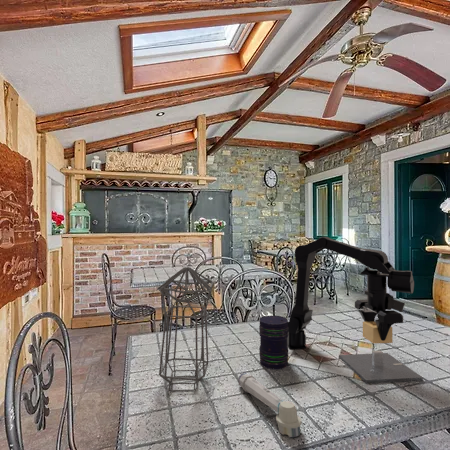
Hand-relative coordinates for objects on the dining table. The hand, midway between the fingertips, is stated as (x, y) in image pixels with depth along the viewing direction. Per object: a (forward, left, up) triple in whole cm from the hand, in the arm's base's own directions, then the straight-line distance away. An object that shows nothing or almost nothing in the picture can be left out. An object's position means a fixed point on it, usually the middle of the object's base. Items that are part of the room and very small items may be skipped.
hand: (377, 336), depth 102 cm
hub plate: (0, 0, -10) cm, 10 cm away
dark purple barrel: (-33, +7, -11) cm, 35 cm away
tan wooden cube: (0, 0, -1) cm, 1 cm away
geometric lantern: (-62, -4, -11) cm, 63 cm away
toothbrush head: (-41, -19, -11) cm, 46 cm away
